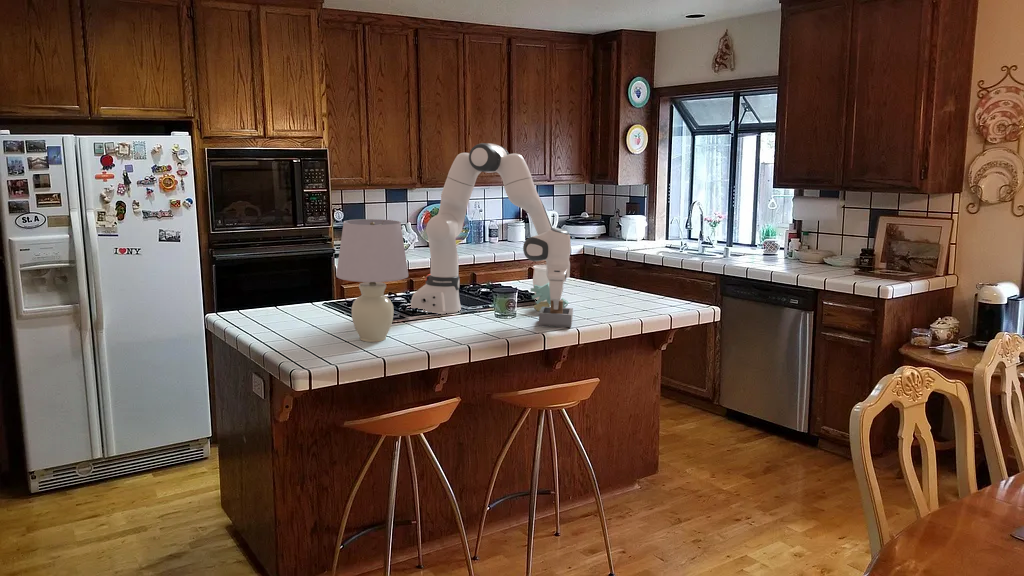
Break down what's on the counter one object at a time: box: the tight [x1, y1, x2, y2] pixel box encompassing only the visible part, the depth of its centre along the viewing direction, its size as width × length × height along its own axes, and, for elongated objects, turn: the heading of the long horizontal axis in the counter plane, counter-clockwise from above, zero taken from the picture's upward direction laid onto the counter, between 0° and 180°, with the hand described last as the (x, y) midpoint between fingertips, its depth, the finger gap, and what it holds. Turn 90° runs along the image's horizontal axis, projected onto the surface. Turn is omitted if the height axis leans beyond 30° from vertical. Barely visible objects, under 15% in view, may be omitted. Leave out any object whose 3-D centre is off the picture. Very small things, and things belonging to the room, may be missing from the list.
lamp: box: [335, 218, 409, 343], centre depth 263 cm, size 24×24×40 cm
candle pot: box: [538, 306, 574, 328], centre depth 296 cm, size 12×12×5 cm
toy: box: [530, 283, 570, 312], centre depth 319 cm, size 10×13×15 cm
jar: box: [532, 264, 549, 302], centre depth 338 cm, size 11×10×15 cm
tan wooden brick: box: [550, 299, 563, 314], centre depth 296 cm, size 4×2×8 cm, turn 83°
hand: (556, 307), depth 296 cm, fingers open, 3 cm apart
